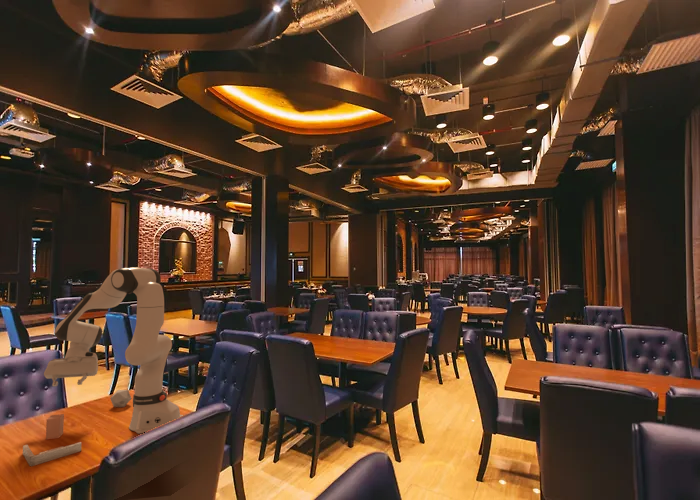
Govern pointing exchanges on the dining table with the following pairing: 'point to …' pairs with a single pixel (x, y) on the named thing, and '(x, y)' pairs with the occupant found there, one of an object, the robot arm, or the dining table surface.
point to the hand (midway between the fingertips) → (67, 384)
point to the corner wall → (49, 453)
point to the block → (54, 426)
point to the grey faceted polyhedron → (120, 398)
